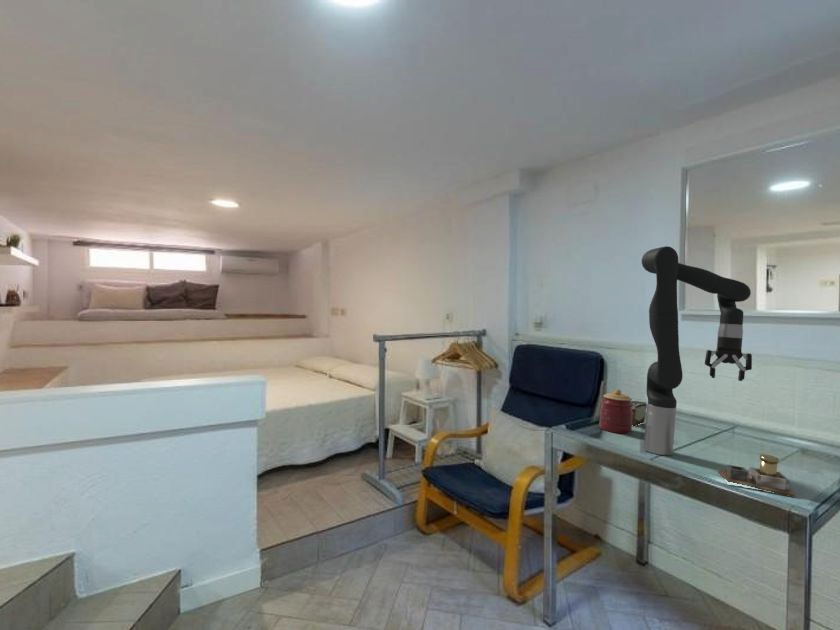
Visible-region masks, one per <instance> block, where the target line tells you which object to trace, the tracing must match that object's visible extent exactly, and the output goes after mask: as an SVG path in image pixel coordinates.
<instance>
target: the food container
mask: <svg viewBox="0 0 840 630" xmlns="http://www.w3.org/2000/svg"><path fill="white" fill-rule="evenodd" d="M631 403H632V404H633V405H634V406H633V407H632V412H633V414H632V425H633V426H632V427H634V426H636V425H638V424H640V423H643V422H644V423H645V420H646V412H647V407H648V403H647V402H645V401H639V400H638V401H637V400H631ZM636 427H637V426H636Z"/></svg>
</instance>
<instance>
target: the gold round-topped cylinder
mask: <svg viewBox="0 0 840 630" xmlns="http://www.w3.org/2000/svg"><path fill="white" fill-rule="evenodd" d="M759 460H760V463H759V469H760V472H759V474H760V475H765V476H770V477H776V473H777V472H778V464H779V462H780V458H778V457H777V456H774V455H771V454H765V453H762V454H761V453H760V454H759Z"/></svg>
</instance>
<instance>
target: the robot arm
mask: <svg viewBox="0 0 840 630" xmlns="http://www.w3.org/2000/svg"><path fill="white" fill-rule="evenodd" d="M641 266H642V267H643V268H644V270H645V271H647V272H648V273H650V274H653V275H654V274H655V275H656V276H655V277H656V287H655V291H654V294H653V296H652V298H651V301H650V305H649V308H648V309H649V310H648V319H649V321H648V322H649V324H648V325H649V330H650V332H651V335H652V339H653V341H654V344H655V347H656V352H657V361H654V362H653V363H651V364H650V365H649V367H648V370H647V373H646V397H647V407H646V419H645V420H646V421H645V422H644V425H645V426H644V436H643V437H644V438H643V439H644V440H643V448H644V451H645V452H649V453H651V454H655V455H660V456H672V455H673V452H674V442H675V441H674V439H675V431H676V429H675V426H676V416H677V405H678V404H677V399H676V397H675V395H674V392H673V389H676V388H678V387H679V386H680V385H681V383H682V381H683V377H684V376H683V368H682V362H681V355H680V343H679V341H680V339H679V312H678V311H679V310H678V281H680V282H682V283H685V284H687V285H689V286H693V287H695V288H698V289H700V290H702V291H704V292H706V293H709V294H713V295H715V294H716V297H717V302H718V308H719V311H720V315H719V325H718V330H717V340H716V341H717V342H716V350H710V349H707V350H706V353H705V358H704V365H705V366H707V367H709V377H710V378H712V379H715V378H716V367H717V366H718V365H720V364H721V363H723V364H730V365H731V364H732V365H733V364H735V365H736V366H737V367H738V368H739V370H738V379H737V380H738V381H739V382H743V380H745V375H746V371H749V370H750V371H751V370H752V369H753V365H752V364H753V361H752V360H753V354H752V353H749V352H747V353H743V352H742V347H743V338H744V337H743V335H744V329H743V324H744V311H743V310H742V309H740V308H737V307H738V306H737V304H736V303H737V302H738V303H741V302H744V301H746V300H748V299H749V298H750V297H751V295H752V294H751V292H752V291H751V289H750V287H749V285H747V284H746V283H745V282H742V281H740V280H736V279H732V278H729V277H728V278H727V277H723V276H721V275H719V274H717V273H714V272H712V271H710V270H707V269H705V268H704V269H703V268H702V267H701V268H700V267H697V266H693V265H687V264H683V263H680V262H679V255H678V252H677V250H675V249H674V248H673V247H671V246H668V245H667V246H665V245H664V246H662V247H661V246H660V247H657V248H652V249H650V250H648V251H646V252H645V253H643V255H642V257H641ZM714 355H715V356H716V357H717V358H715V359H714V360H713V361H712V363H711V358H712V357H713V356H714ZM742 357H743V359H745V366H744V365H743V363H742V362H741V360H740V359H741V358H742Z"/></svg>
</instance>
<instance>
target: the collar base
mask: <svg viewBox="0 0 840 630" xmlns="http://www.w3.org/2000/svg"><path fill="white" fill-rule="evenodd" d="M726 466H727V467H726V469H725V470H724V469H719V468H718V469H717V471H718V472H717V473H718V474H719V475H720V477H721V476H722V477H723V478H724V479H726V480H727V481H728V482H733V483H737V484H742V485H747V486H751V487H755V488H758V489H762V490H766V491H771V492H774V493H778V494H782V495H781V496H784V495H789V496H794V497H795V492H793V491H792V490H791V489H790V480H789V479H788V478H787V477H786V476H785V475H784V474H783V473H781V472H780V471H777V473H776V477H770V476H765V475H760V474H759V472H760V467H759V468H757V467H752V466H749V472H748V471H747V470H746V468H745V467H742V466H737V465H731V464H727V465H726ZM722 477H721V478H722ZM723 478H722V479H723ZM724 479H723V480H724ZM778 494H777V495H778ZM789 496H788V497H789Z"/></svg>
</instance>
